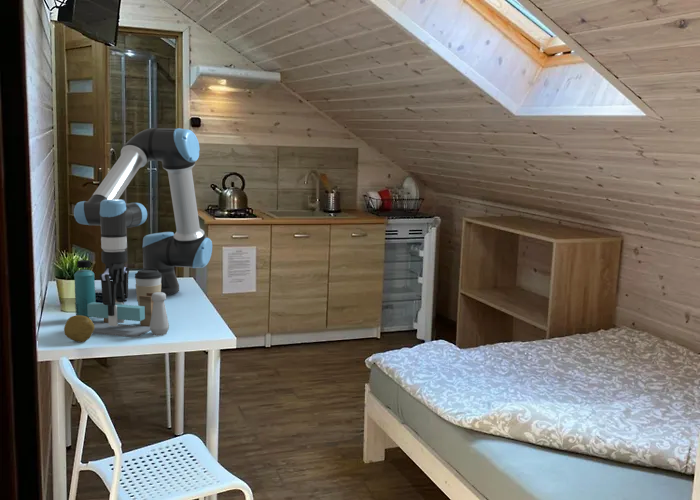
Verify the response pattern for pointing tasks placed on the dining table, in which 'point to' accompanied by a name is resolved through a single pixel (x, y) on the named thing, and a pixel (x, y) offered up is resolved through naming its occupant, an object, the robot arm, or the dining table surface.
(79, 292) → the beverage bottle
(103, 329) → the mat
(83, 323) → the potato
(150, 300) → the post
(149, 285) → the coffee cup
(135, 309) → the rail
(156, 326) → the salt shaker
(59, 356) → the dining table surface
